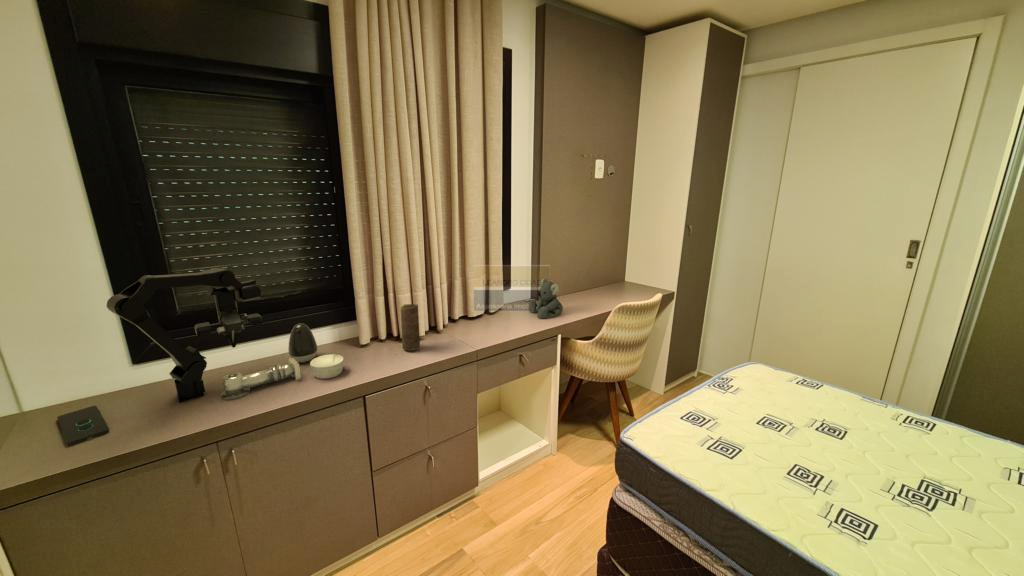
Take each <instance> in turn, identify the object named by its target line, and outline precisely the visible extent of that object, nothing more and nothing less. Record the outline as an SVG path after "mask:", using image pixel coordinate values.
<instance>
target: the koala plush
mask: <svg viewBox="0 0 1024 576" xmlns="http://www.w3.org/2000/svg"><path fill="white" fill-rule="evenodd" d="M540 283H541V286H540V288H539V290H538V292H537V296H538V297H539V298H540V300H539V302H538V303H537V301H536V300H534V299H530V301H529V304H528V311H529V312H530V313H532V314H537V318H538V319H540V320H541V319H543V320H544V319H545V320H547V319H550V318H555V317H558V316H559V315H560V314H561V313H562V312H563V310H564V309H563V308H564V305H562V303H561V302H560V300H558V296H557V295H558V294H560V287H559V284H557V283H554V282H553V281H550V280H547V279H546V278H544V277H543V279H541V282H540Z"/></svg>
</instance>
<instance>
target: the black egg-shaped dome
mask: <svg viewBox="0 0 1024 576" xmlns="http://www.w3.org/2000/svg"><path fill="white" fill-rule="evenodd" d="M287 350H288V351H287V352H288V355H289V356H290V358H294V359H295V360H296V361H297V362H298V363H306V362H311V361H312V360H313V359H315V358H316V355H317V352H318V344H317V341H316V338H315V336H314V333H313V332H312V330H311V329H310V327H309V326H308V325H307V324H305V323H297V324H295V325H294V326H293V328H292V329H291V332H290V335H289V339H288V349H287Z"/></svg>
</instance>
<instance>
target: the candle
mask: <svg viewBox="0 0 1024 576" xmlns="http://www.w3.org/2000/svg"><path fill="white" fill-rule="evenodd" d="M418 307H419V305H418V304H417V303H406V304H403V305H402V306H401V307H400V324H401V325H400V327H401V343H402V350H405V351H417V350H420V349H421V343H420V342H421V340H420V339H421V338H420V323H419V321H420V320H419V308H418Z"/></svg>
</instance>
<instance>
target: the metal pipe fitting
mask: <svg viewBox="0 0 1024 576" xmlns="http://www.w3.org/2000/svg"><path fill="white" fill-rule="evenodd" d="M276 368H277V370H278V374H279V381H283V380H284V379H285V378H288V377H293V378H294V379H295V381H300V380H302V378H301V377H302V376H301V371H300V370H301V369H300V363H299V362H297V361H296V360H295V359H294V358H291V357H290V358H288V363H285V364H283V365H281V364H276ZM250 392H251V387H250V388H246V389H245V390H244V391H243V392H241V393H239V394H236V395H226V392H225V390H224V391H222V392H221V394H220V398H221V400H224V401H233V400H238V399H241V398H243V397H246V396H247V395H248V394H249V393H250Z"/></svg>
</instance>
